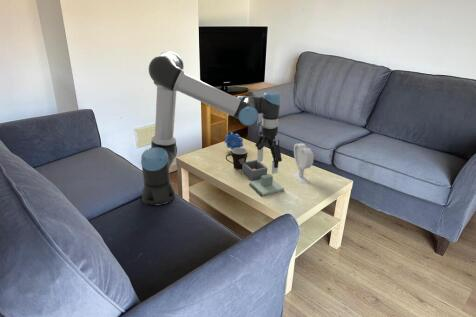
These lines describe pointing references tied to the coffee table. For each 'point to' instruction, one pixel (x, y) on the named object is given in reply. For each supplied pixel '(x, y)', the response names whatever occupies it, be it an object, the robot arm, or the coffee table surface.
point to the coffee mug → (238, 157)
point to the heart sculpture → (302, 161)
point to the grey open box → (254, 174)
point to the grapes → (233, 141)
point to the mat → (259, 192)
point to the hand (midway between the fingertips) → (266, 167)
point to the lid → (266, 185)
